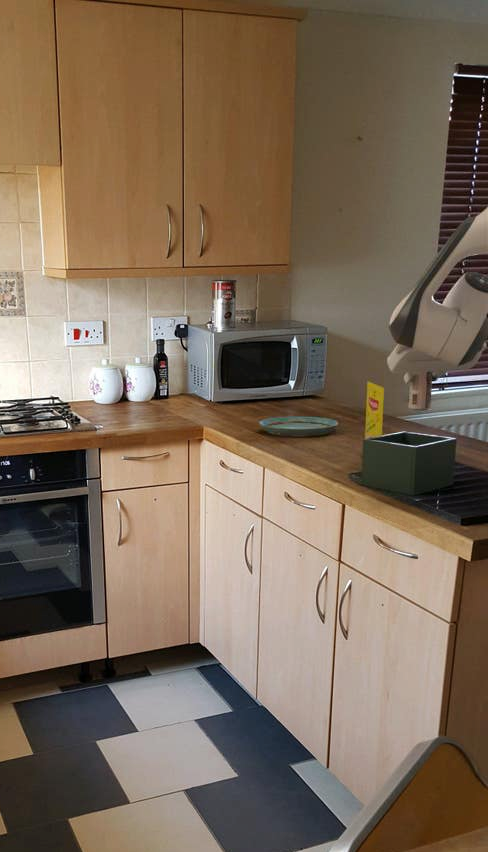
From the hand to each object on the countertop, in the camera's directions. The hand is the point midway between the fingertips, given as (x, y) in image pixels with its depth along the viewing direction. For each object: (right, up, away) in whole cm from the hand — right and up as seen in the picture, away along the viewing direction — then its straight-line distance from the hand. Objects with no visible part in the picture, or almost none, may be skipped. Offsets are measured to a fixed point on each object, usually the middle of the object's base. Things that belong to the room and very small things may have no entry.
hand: (419, 380), depth 198 cm
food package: (-4, -15, +29) cm, 33 cm away
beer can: (0, -7, +2) cm, 7 cm away
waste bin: (-2, -24, +3) cm, 24 cm away
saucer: (-16, +1, +77) cm, 78 cm away
